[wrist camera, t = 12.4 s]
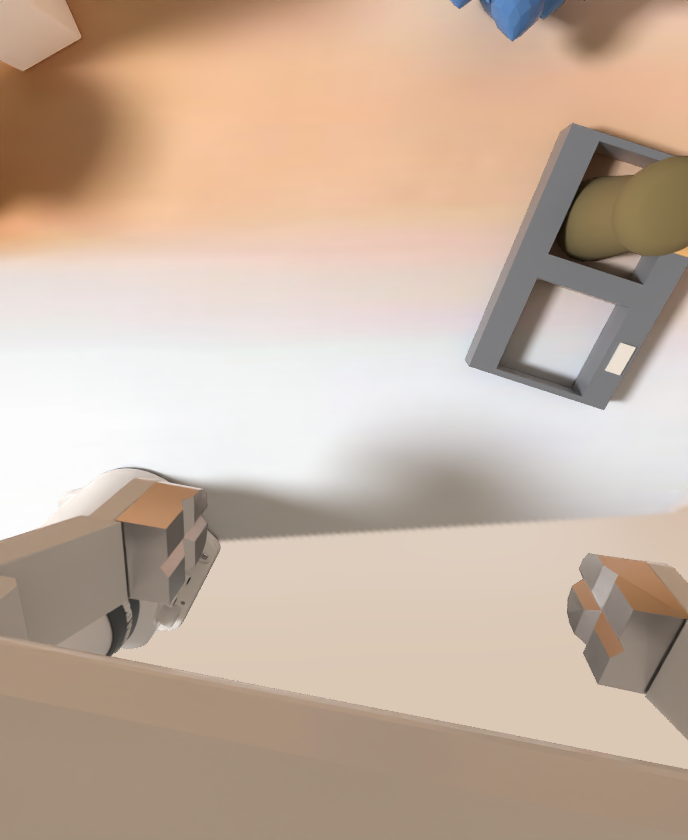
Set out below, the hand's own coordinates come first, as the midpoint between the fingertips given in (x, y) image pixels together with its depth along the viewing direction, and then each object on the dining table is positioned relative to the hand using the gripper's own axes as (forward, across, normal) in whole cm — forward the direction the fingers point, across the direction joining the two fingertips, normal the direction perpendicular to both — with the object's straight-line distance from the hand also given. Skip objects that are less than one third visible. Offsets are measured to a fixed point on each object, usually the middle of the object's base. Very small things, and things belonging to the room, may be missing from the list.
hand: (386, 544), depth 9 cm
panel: (+31, -14, -6) cm, 35 cm away
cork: (+31, -14, -10) cm, 36 cm away
